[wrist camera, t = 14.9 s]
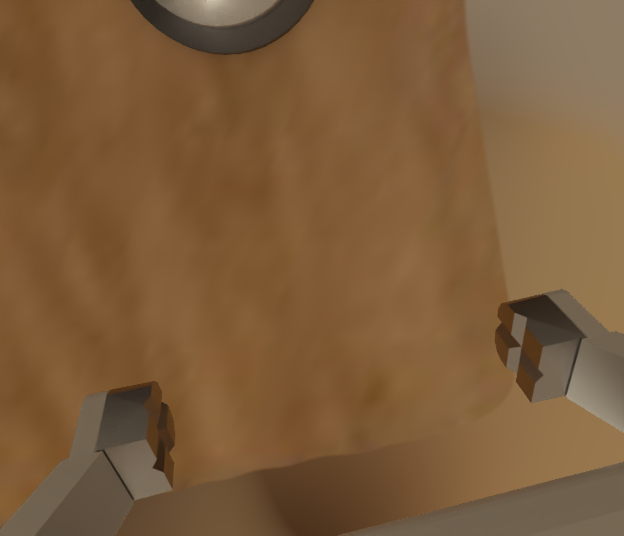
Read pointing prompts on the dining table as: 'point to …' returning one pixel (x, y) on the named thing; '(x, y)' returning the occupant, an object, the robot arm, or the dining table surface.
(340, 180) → the dining table surface
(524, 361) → the robot arm
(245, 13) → the disc
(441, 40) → the dining table surface
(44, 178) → the dining table surface
